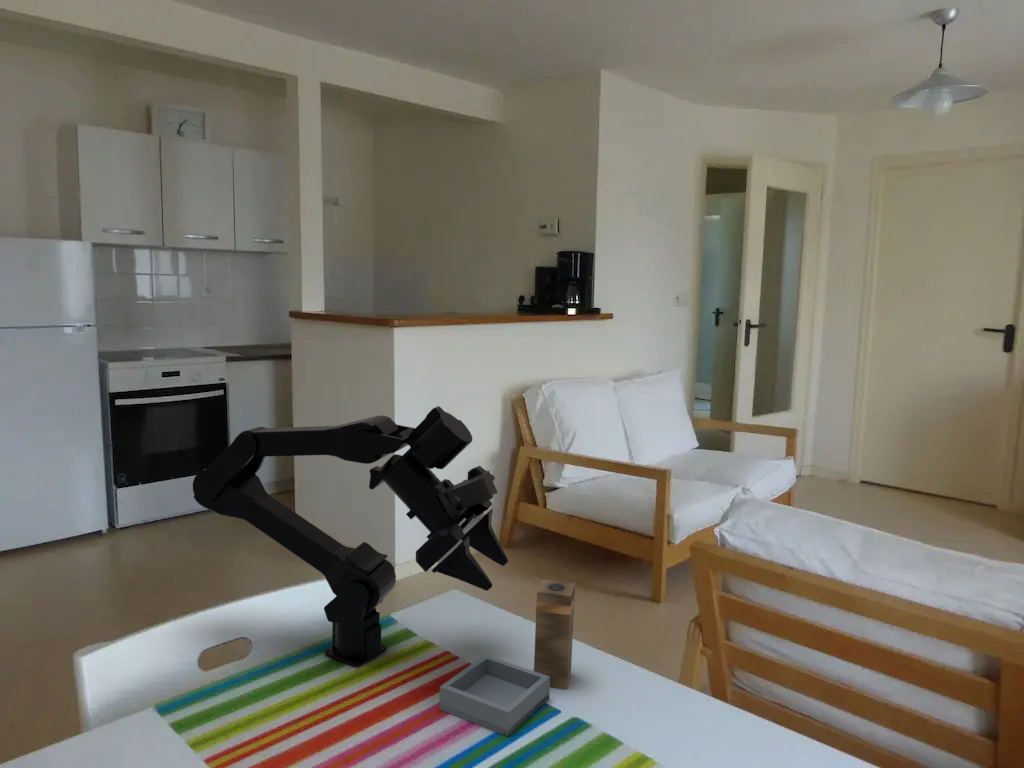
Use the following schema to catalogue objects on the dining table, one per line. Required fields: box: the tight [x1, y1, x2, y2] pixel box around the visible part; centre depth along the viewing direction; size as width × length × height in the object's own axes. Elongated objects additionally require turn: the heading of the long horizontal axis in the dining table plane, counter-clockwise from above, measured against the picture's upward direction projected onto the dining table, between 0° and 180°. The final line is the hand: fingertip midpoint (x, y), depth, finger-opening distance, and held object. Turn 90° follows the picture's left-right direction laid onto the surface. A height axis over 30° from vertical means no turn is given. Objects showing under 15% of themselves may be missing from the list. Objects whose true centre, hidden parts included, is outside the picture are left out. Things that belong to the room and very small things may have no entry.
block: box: [533, 579, 576, 690], centre depth 101 cm, size 5×5×13 cm
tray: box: [439, 654, 551, 737], centre depth 95 cm, size 10×10×3 cm
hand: (498, 575), depth 101 cm, fingers open, 9 cm apart
